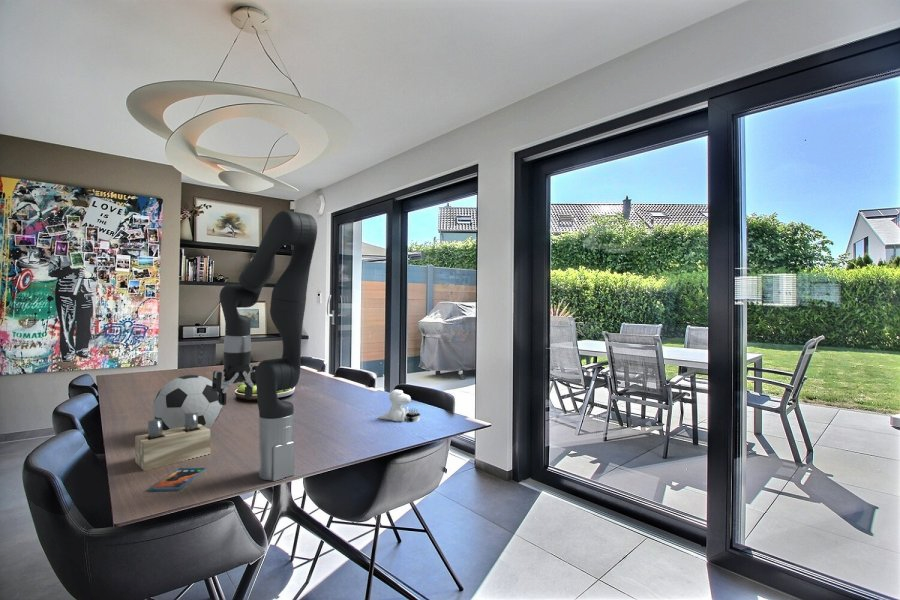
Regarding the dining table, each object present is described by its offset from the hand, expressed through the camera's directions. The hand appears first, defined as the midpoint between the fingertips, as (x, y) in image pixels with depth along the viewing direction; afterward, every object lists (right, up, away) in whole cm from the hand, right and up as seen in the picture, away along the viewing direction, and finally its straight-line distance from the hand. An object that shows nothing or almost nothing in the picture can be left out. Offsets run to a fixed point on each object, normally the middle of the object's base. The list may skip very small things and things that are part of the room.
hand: (235, 401), depth 134 cm
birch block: (-21, -19, +3) cm, 28 cm away
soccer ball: (-30, -19, +26) cm, 44 cm away
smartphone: (-10, -19, -12) cm, 25 cm away
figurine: (+45, -19, +47) cm, 68 cm away
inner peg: (-18, -13, +7) cm, 23 cm away
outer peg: (-24, -13, -1) cm, 28 cm away
